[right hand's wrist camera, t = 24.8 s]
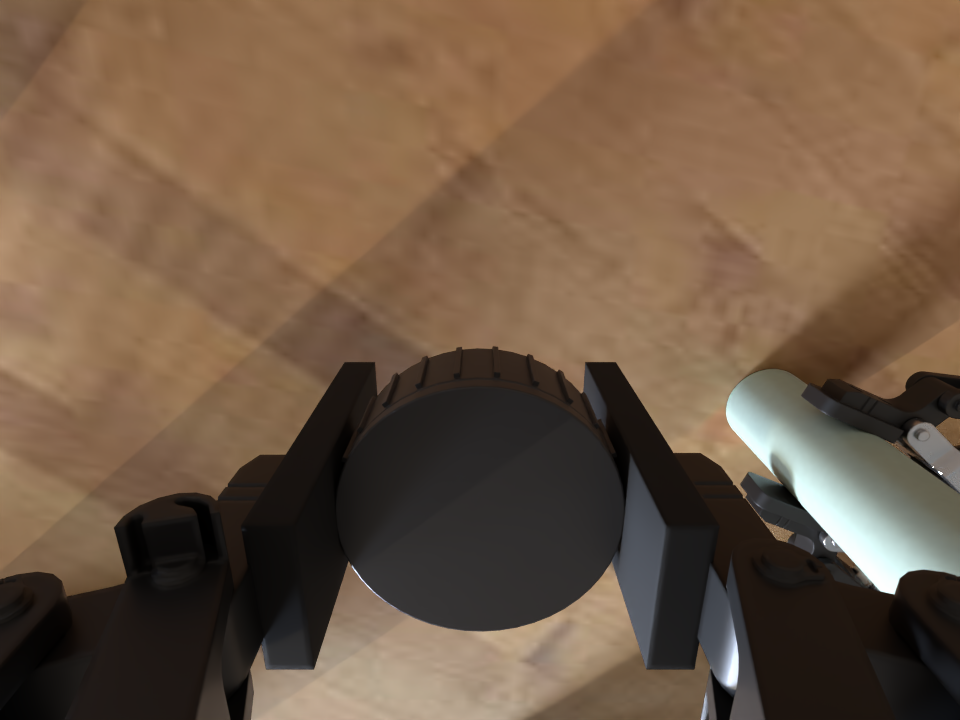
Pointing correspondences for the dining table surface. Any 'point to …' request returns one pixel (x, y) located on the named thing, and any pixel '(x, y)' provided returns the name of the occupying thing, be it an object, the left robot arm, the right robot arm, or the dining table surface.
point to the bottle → (849, 481)
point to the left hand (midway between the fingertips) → (783, 443)
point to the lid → (480, 492)
